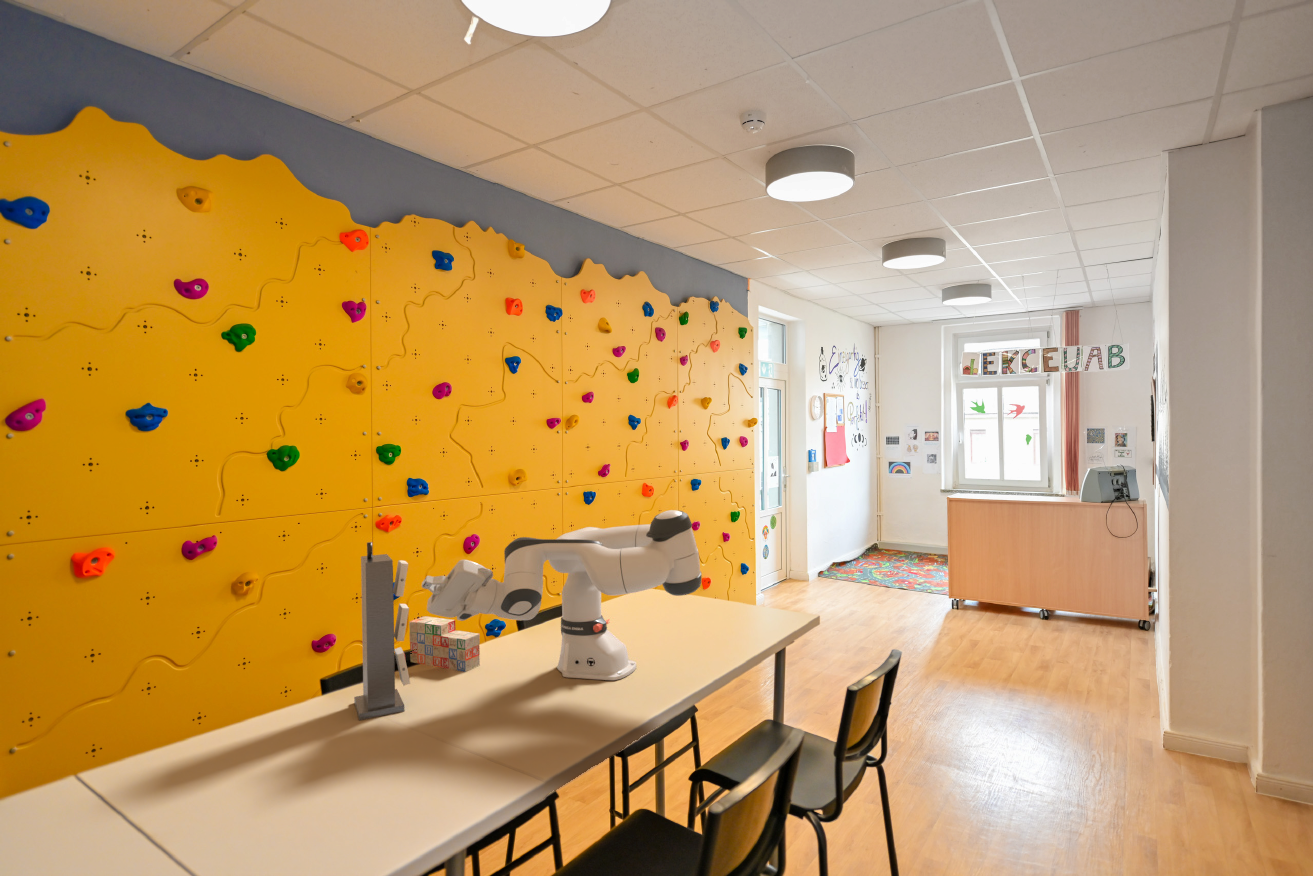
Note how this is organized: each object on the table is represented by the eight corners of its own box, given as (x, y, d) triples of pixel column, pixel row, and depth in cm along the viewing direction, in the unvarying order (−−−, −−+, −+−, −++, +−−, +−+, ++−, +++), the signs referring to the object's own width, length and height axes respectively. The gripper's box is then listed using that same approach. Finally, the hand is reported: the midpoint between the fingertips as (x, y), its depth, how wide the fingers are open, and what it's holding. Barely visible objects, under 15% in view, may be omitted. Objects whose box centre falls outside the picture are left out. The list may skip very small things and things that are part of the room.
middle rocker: (401, 635, 169) (406, 604, 169) (404, 641, 164) (410, 608, 165) (393, 635, 168) (399, 603, 168) (396, 641, 163) (402, 608, 164)
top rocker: (400, 592, 169) (405, 560, 169) (403, 596, 164) (409, 563, 165) (393, 592, 168) (398, 560, 168) (396, 596, 163) (401, 563, 164)
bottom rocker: (407, 676, 169) (401, 646, 169) (411, 683, 165) (404, 652, 164) (400, 679, 169) (394, 649, 168) (403, 686, 164) (397, 655, 163)
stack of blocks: (480, 665, 193) (479, 623, 193) (465, 672, 187) (464, 628, 187) (425, 655, 202) (424, 615, 202) (409, 662, 197) (408, 620, 197)
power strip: (396, 694, 171) (394, 537, 171) (404, 711, 161) (401, 543, 161) (354, 702, 166) (351, 540, 166) (359, 720, 156) (356, 547, 156)
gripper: (496, 583, 160) (441, 569, 153) (459, 624, 171) (406, 613, 164) (496, 561, 165) (443, 547, 158) (461, 602, 175) (409, 591, 168)
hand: (424, 581), depth 161 cm, fingers closed
